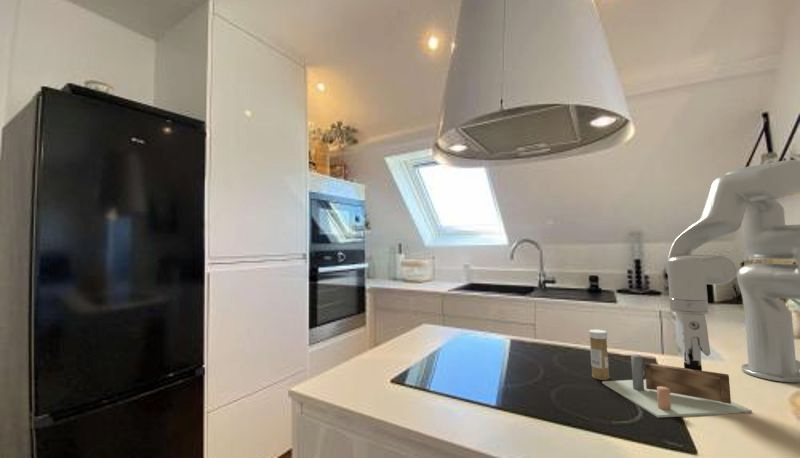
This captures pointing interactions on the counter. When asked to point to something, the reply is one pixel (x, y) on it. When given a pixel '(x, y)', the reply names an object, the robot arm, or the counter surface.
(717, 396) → the gate
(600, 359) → the sprinkles bottle
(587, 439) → the counter surface
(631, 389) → the gate frame
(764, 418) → the counter surface
